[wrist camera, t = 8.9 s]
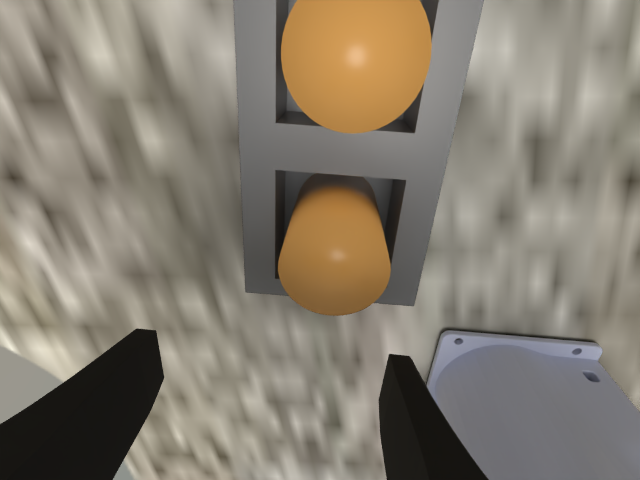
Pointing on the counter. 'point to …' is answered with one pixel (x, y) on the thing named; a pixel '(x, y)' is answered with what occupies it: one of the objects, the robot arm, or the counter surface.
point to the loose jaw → (355, 60)
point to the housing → (342, 172)
